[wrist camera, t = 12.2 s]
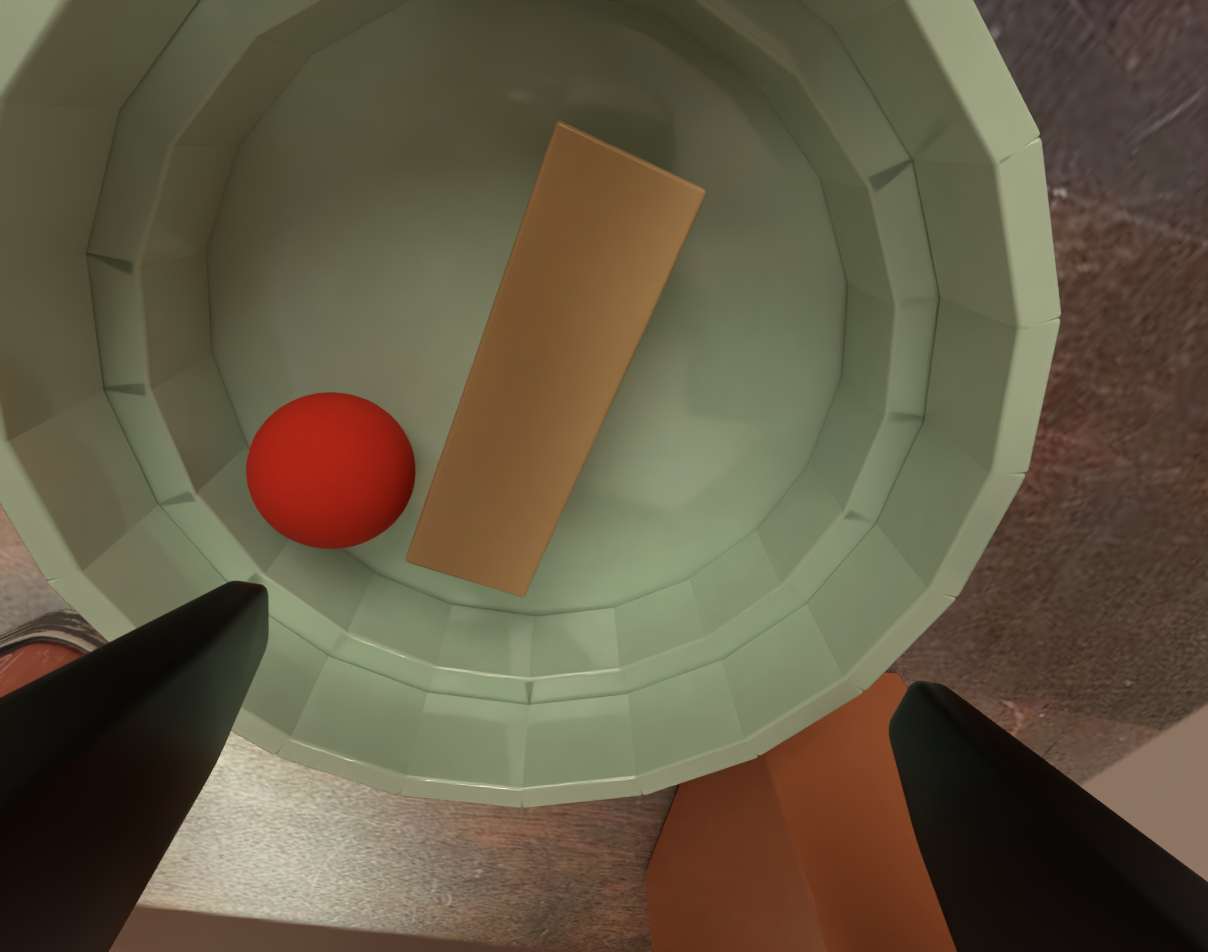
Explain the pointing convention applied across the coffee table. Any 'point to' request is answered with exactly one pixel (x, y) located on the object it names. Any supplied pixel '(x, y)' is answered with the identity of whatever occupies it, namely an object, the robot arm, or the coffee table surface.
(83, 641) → the lighter
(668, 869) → the rectangular block
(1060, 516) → the coffee table surface
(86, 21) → the bowl
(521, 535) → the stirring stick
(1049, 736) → the coffee table surface
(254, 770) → the coffee table surface
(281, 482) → the tomato ball
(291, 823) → the coffee table surface
